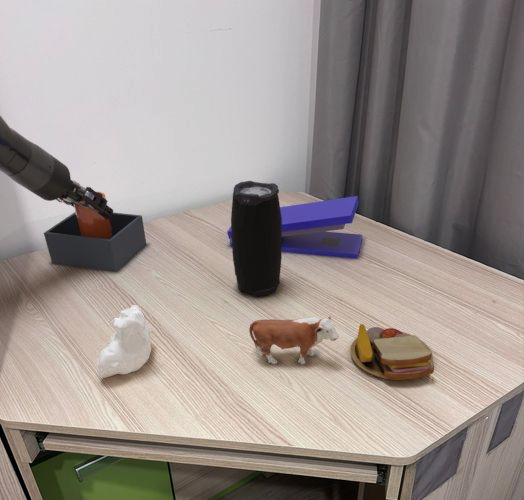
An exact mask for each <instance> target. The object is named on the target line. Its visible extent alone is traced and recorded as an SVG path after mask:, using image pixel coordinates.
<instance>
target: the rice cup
mask: <svg viewBox="0 0 524 500" xmlns="http://www.w3.org/2000/svg"><path fill="white" fill-rule="evenodd" d="M96 192H97V193H98V194H99V195H101V196H102V197H103V198H104V199H106V200H107V197H106V194H105V193H104V192H101V191H96ZM80 203H82V204H83V203H84V201H83V200H82V201H81V202H80ZM73 204H74V203H73ZM106 205H107V206H108V203H107V204H106ZM73 208H74V212H75V213H76V217H77V221H78V225H79V230H80V234H81V236H84V237H92V238H101V239H110V238H111V237H112V235H113V234H112V227H111V222H110V219H106V218H105V217H103V216H102V215H100V214H99V213H97V212H94V211H93V210H91V209H89V208H82V207H80V206H78V205H76V204H74V207H73Z"/></svg>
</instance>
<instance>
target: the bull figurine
mask: <svg viewBox="0 0 524 500" xmlns="http://www.w3.org/2000/svg"><path fill="white" fill-rule="evenodd" d="M248 331H249V335H250V338H251V340H252V342H253V344H254V348H255V350H256V352H257V355H258V356H259V357H263V356H265V357H266V359H267V362H268V364H271V365H277V364H278V363H279V361H278V360H277V359H276V358H274V356H273V355H272V351H271V349H272V346H273V345H274V346H277V347H278V348H280V349H281V350H286V349H293V348H299V349H300V350H299V358H298V361H297V362H298V364H300V365H305V364H306V360H305V357H306V356H310V357H313V356H315V352H313V349H312V348H315V347H316V346H317V345H318V344H320V343H322V342H323V340H330V341H331V342H335V341H337V340H338V339H339V337H340V335H339V334H338V333H337V331H336V327H335V324H334V322H333V321H331V315H329V316H328V317H326V318H323V319H321V318H318V317H315V316H310V317H308V318H307V317H302V318H297V319H276V318H275V319H273V318H272V319H257V320H254V321H252V322H251V323H250V326H249V328H248Z"/></svg>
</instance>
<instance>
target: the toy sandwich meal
mask: <svg viewBox="0 0 524 500" xmlns="http://www.w3.org/2000/svg"><path fill="white" fill-rule="evenodd" d="M349 353H350V357H351V358H352V360H353V361H354V363H355V364H356V365H357V366H358V367H359V368H361V369H362V370H363V371H365V372H366V373H368V374H370V375H372V376H375V377H378V378H381V379H386V380H394V381H395V380H397V381H398V380H411V379H419V378H423V377H426V376H429V375H431V374H433V373H434V372H435V365H434V364H433V360H434V355H433V352H432V349H431V348H430V347H429V345H428V344H427V343H426V342H424V341H423V340H421V339H420V338H419V336H417V335H415V334H410V333H407V332H404V331H401V330H399V329H397V328H393V327H389V328H385V329H384V328H383V327H380V326H372V327H369V328H368V329H367V328H366V326H365V324H364V323H361V324H359V327H358V333H357V337H356V338H355V339H354V340H353V341H352V342H351V345H350V349H349Z"/></svg>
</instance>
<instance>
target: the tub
mask: <svg viewBox="0 0 524 500" xmlns="http://www.w3.org/2000/svg"><path fill="white" fill-rule="evenodd" d="M143 220H144V219H143V215H141V214H132V213H123V212H122V213H121V212H113V214H112V216H111V219H110V222H111V227H112V234H113V235H112V237H111V238H110V239H101V238H92V237H84V236H81V234H80V230H79V225H78V221H77V217H76V213H75V211H74V212H73V213H72V214H70V215H68V216H67V217H65V218H63V220H61V221H59V222H58V223H56V224H55V225H53V226H52V227H50V228H49V229H47V230H46V231H44V232H43V236H44V239H45V243H46V247H47V250H48V254H49V258H50V261H51V264H53V265H58V266H59V265H61V266H68V267H74V268H75V267H76V268H82V269H89V270H97V271H103V272H111V273H118V272H119V271H120V270H121V269H122V268H124V266H126V265H127V264H128V263H130V261H131V260H132V259H133V258H134V257H135V256H137V254H139V253H140V252H141V251H142V250H143V249H144V248H145V247H146V246H147V239H146V232H145V226H144V221H143Z"/></svg>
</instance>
